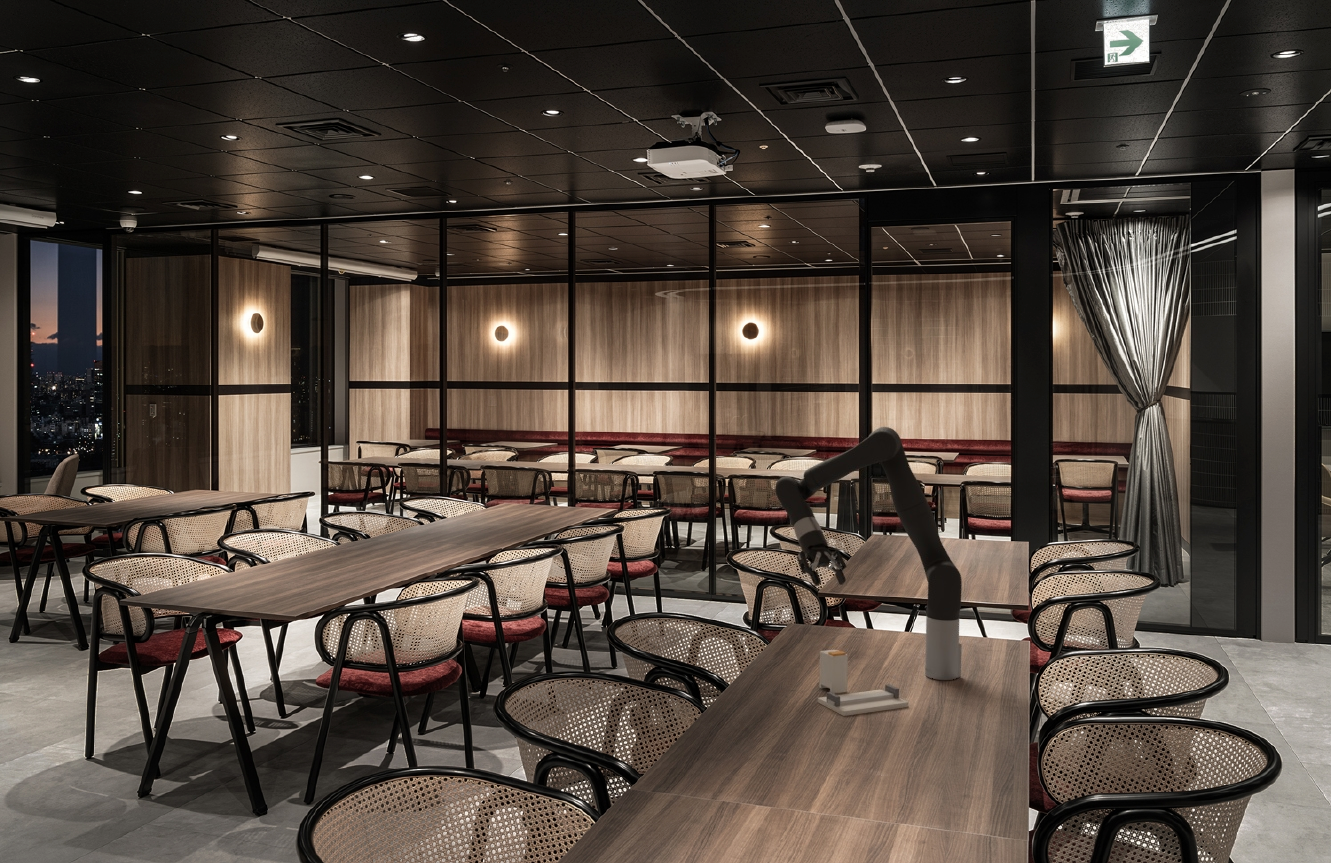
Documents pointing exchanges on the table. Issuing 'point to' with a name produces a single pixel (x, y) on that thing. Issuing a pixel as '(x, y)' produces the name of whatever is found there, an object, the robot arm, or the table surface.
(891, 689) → the mounting board
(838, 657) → the rail module
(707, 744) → the table surface
